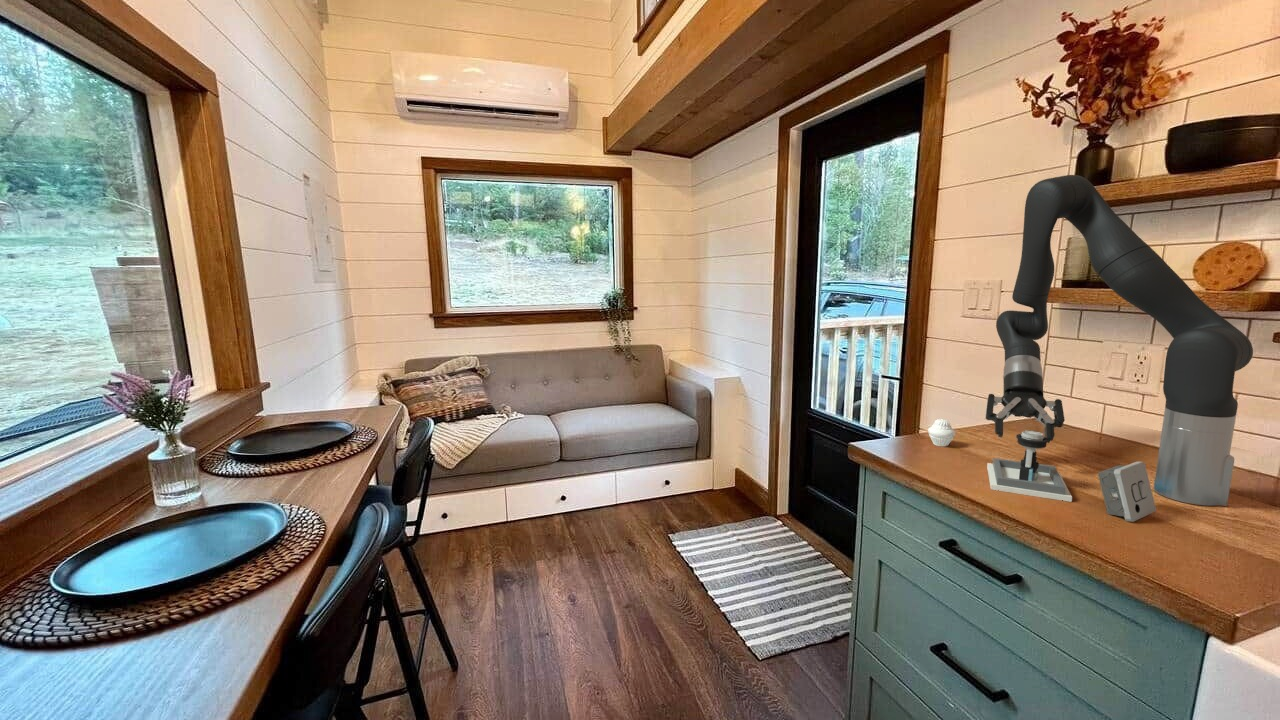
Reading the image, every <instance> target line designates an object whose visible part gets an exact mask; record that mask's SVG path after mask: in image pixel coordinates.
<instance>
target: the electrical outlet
mask: <svg viewBox="0 0 1280 720" xmlns="http://www.w3.org/2000/svg"><path fill="white" fill-rule="evenodd" d="M1148 475H1149V474H1148V472H1147V466H1146V464H1145V463H1144V461H1135V462H1131V463H1130V464H1126V465H1119V464H1118V465H1115V466H1113V467H1110V468H1107V469H1104V470H1101V471H1099V472H1098V473H1097V476H1098V480H1099V483H1100V489H1101V491H1102V497H1103V500H1104V505H1105V509H1106V513H1107V515H1108V516H1109V515H1111V516H1118V517H1123V518H1124V520H1125V521H1126V522H1131V523H1134V522H1136V521H1138V520H1140V519H1142V518H1144V517H1147V516H1149V515H1150V514H1153V513H1155V512H1156V509H1157V508H1156V503H1155V499H1154V495H1153V491H1152V486H1151V482H1150V478H1149V476H1148ZM1110 489H1112V490H1110ZM1112 493H1113V494H1114V495H1113V494H1112Z"/></svg>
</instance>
